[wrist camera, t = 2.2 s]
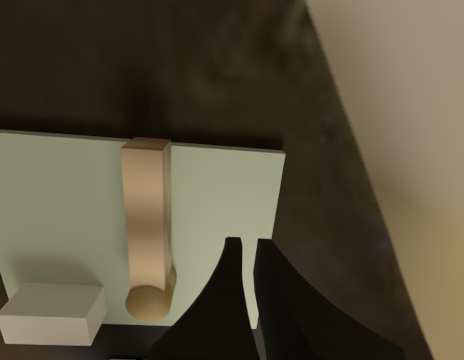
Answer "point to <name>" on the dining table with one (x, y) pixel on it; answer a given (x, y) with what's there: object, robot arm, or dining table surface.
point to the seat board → (114, 221)
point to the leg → (148, 226)
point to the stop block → (53, 314)
